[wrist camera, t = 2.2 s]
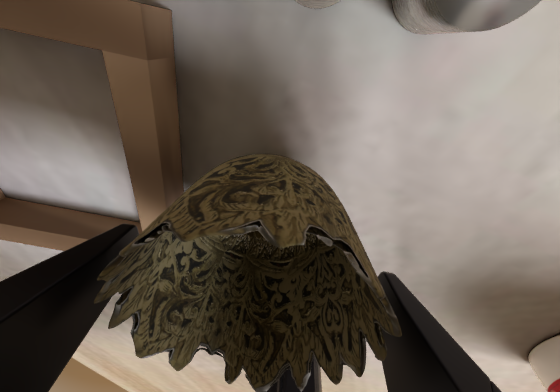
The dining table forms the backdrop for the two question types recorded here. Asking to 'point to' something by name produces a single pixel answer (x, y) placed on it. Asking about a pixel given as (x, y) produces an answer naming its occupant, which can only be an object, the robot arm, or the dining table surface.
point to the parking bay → (128, 105)
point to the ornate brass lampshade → (253, 277)
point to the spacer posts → (449, 13)
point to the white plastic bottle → (547, 363)
